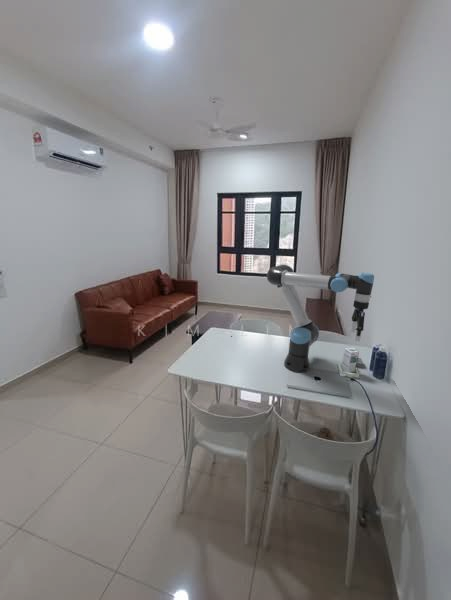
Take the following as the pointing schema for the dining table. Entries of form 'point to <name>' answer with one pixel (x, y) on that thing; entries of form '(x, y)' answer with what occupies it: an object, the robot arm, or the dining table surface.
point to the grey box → (360, 363)
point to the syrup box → (350, 360)
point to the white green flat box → (348, 374)
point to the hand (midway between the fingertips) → (354, 336)
